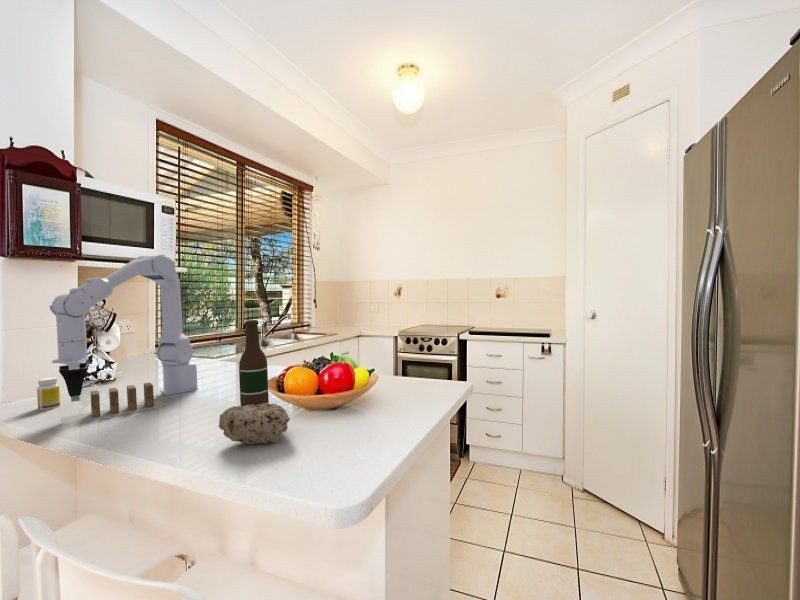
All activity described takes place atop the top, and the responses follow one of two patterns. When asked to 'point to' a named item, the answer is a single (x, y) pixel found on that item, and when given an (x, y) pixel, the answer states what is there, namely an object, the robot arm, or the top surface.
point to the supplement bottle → (48, 394)
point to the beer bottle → (253, 369)
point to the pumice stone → (254, 423)
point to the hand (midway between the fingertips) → (74, 393)
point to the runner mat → (106, 413)
